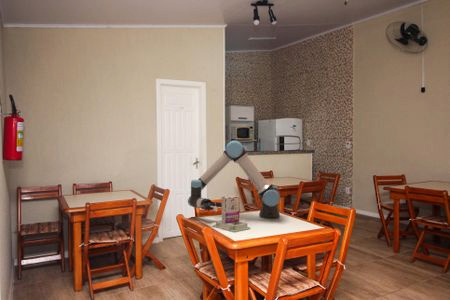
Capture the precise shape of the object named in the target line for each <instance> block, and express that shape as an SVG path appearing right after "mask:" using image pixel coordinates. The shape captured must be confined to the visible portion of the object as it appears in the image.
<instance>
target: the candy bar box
mask: <svg viewBox="0 0 450 300" xmlns="http://www.w3.org/2000/svg"><path fill="white" fill-rule="evenodd" d="M221 203H222V207H221V220H222V223H226V224H227V223H233V222H239V221H240V195H239V196H238V195H229V196H221Z"/></svg>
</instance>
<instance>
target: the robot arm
mask: <svg viewBox="0 0 450 300" xmlns="http://www.w3.org/2000/svg"><path fill="white" fill-rule="evenodd" d="M232 161H233V163H234V164H238V166H239V167H240V168H241V170H242V171H243V172H244V173H245V175H246V176H247V178H248V179H249V180H250V182H251V183H252V184H253V186H254V187H255V188H256V190H257V194H258V196H259V198H261V208H260V211H259V213H258V215H259V218H263V219H279V218H280V217H281V216H280V215H281V213H280V210H279V207H278V204H279V202H280V200H281V199H280V198H281V195H280V194H279V189H278V188H279V187H278V186H277V185H273V184H272V183H269V182H268V181H267V180H266V178H265V177H264V176H263V175H262V173H261V172H260V171H259V169H258V168H257V167H256V166H255V164H254V162H253V161H252V160H251V159H250V158H249V156H248V151H247V150H246V149H245V147H244V146H243V144H242V143H241V142H240V141H239V140H231V141H230V142H228V143H227V144H226V147H225V149H224V150H223V151H222V155H220V157H219V158H217V160H216V161H215V162H213V163H212V165H211V166H210V167H208V168H207V170H206V171H204V173H202V175H201V176H200V177H199V178H198V179H191V181H190V196H189V197H188V199H187V203H188V206H190V207H193V208H197V209H201V210H205V211H208V212H210V211H212V212H213V211H214V212H218V210H219V208H222V202H219V201H216V202H215V201H212V200H211V199H210V198H205V197H202V191H203V190H204V188H206V187H207V186H208V184H210V182H211V181H212V180H213V179H215V177H216V176H217V175H219V174H220V172H221V171H222V170H223V169H225V167H227V165H228V164H229V163H230V162H232Z"/></svg>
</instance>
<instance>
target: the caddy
mask: <svg viewBox="0 0 450 300" xmlns="http://www.w3.org/2000/svg"><path fill="white" fill-rule="evenodd" d="M212 227H214V228H217V229H220V230H224V231H228V232H231V233H238V232H241V231H242V232H243V231H248V230H251V227H250V226H248V223H247V222H243V221H240V220H239V222H233V223H227V224H226V223H222V219H219V220H216V221H215V224H212Z"/></svg>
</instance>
